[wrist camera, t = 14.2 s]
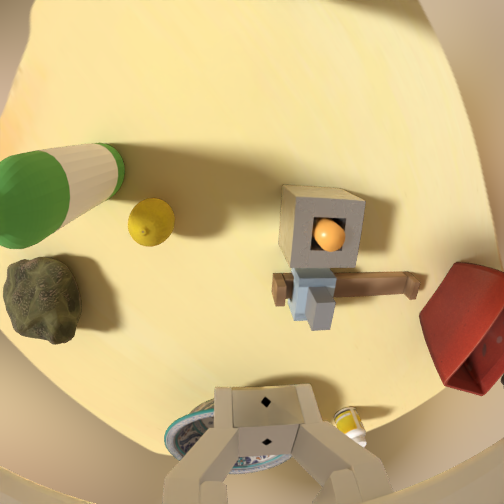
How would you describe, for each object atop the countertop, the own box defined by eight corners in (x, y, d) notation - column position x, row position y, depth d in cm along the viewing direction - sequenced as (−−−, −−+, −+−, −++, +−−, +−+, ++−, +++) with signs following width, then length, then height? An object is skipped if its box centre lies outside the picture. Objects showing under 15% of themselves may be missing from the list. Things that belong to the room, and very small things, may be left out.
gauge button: (308, 212, 34) (320, 224, 30) (331, 213, 35) (347, 225, 30) (305, 236, 35) (317, 251, 31) (329, 236, 36) (343, 251, 31)
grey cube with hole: (282, 184, 37) (296, 196, 30) (340, 188, 38) (365, 201, 31) (278, 244, 40) (289, 269, 33) (333, 245, 41) (354, 269, 34)
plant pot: (395, 324, 48) (442, 386, 32) (454, 236, 42) (521, 278, 27) (443, 348, 52) (483, 397, 37) (493, 278, 47) (543, 316, 31)
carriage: (291, 263, 41) (307, 294, 33) (325, 263, 42) (347, 293, 33) (287, 302, 43) (300, 338, 35) (319, 301, 44) (337, 336, 36)
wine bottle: (125, 201, 36) (-36, 339, 9) (76, 197, 35) (-93, 305, 7) (130, 143, 34) (-69, 185, 6) (79, 141, 33) (-115, 185, 5)
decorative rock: (12, 236, 36) (-24, 259, 27) (88, 258, 39) (57, 290, 30) (20, 309, 41) (-7, 340, 32) (89, 335, 44) (67, 373, 35)
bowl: (223, 344, 46) (223, 387, 37) (319, 400, 54) (331, 436, 45) (147, 410, 52) (140, 446, 43) (239, 450, 59) (241, 482, 50)
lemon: (187, 206, 37) (177, 224, 30) (166, 240, 39) (152, 265, 31) (151, 184, 36) (133, 197, 28) (132, 219, 37) (111, 239, 30)
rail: (273, 273, 42) (277, 286, 38) (408, 271, 44) (420, 282, 40) (271, 291, 43) (275, 306, 39) (403, 287, 45) (415, 299, 41)
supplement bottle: (329, 420, 57) (340, 453, 48) (341, 405, 55) (354, 440, 46) (348, 420, 58) (360, 452, 49) (360, 406, 56) (374, 438, 47)
